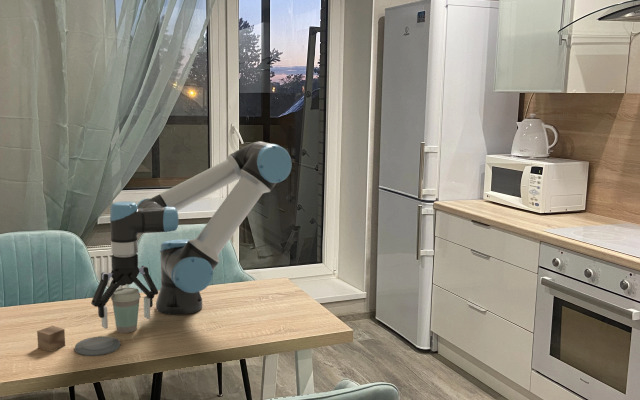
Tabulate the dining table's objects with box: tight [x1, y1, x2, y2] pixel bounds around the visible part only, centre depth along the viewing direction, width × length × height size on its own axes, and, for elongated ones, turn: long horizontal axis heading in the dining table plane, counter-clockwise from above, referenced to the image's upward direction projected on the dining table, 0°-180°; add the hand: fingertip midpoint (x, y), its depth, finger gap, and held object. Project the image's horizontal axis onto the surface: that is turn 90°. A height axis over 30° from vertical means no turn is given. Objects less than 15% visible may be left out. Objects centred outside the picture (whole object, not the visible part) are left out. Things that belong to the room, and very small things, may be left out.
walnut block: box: [36, 325, 66, 353], centre depth 177 cm, size 5×5×5 cm
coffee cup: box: [110, 287, 142, 334], centre depth 191 cm, size 9×8×12 cm
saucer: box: [74, 335, 121, 357], centre depth 178 cm, size 12×12×1 cm
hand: (126, 322), depth 192 cm, fingers open, 13 cm apart
